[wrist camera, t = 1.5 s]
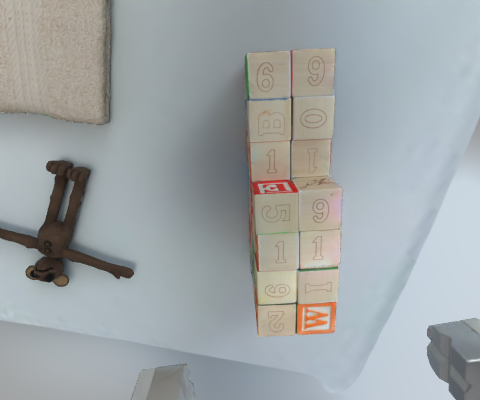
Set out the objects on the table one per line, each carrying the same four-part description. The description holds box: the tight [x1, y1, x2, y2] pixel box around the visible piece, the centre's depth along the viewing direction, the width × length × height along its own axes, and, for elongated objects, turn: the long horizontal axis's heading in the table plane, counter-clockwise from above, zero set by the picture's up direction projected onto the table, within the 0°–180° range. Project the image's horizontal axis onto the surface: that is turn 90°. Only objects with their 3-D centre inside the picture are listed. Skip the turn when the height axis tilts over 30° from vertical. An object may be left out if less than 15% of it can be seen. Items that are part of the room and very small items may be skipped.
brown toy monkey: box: [0, 160, 134, 287], centre depth 33 cm, size 18×4×14 cm
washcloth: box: [0, 0, 111, 125], centre depth 26 cm, size 12×18×3 cm, turn 172°
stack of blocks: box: [245, 48, 343, 337], centre depth 27 cm, size 21×6×12 cm, turn 2°
